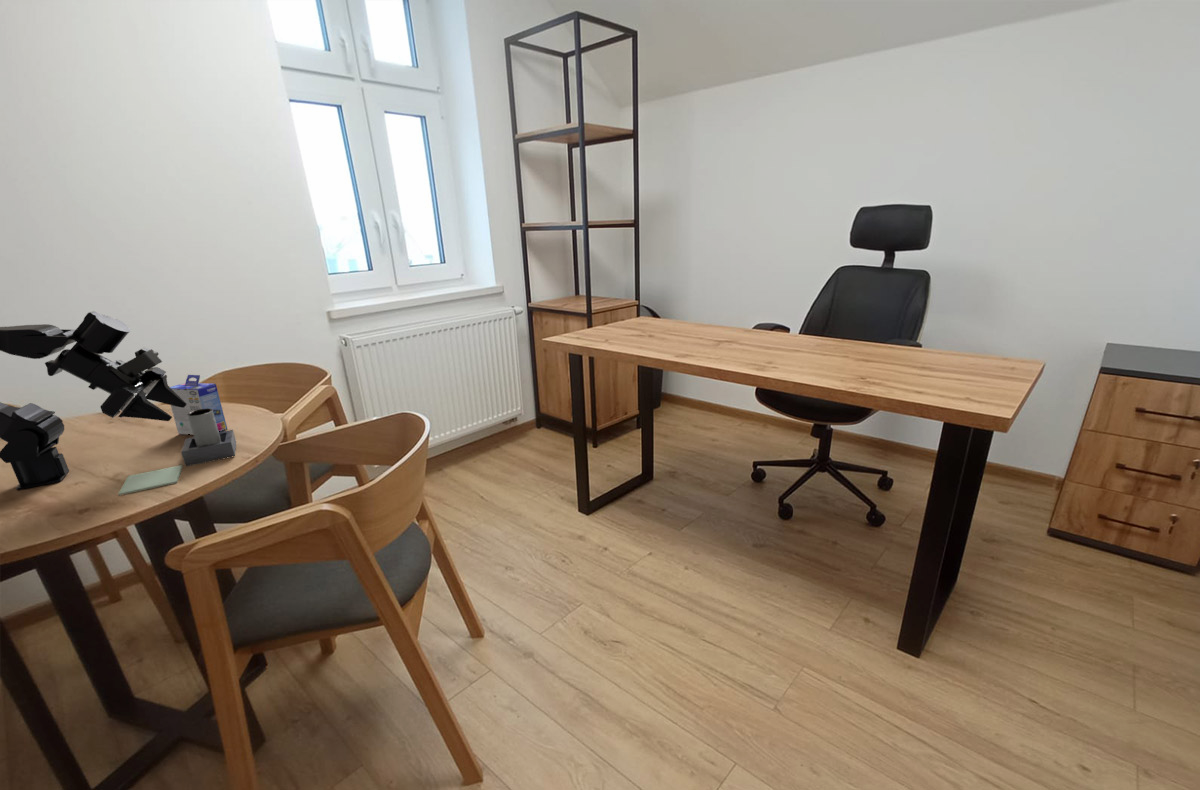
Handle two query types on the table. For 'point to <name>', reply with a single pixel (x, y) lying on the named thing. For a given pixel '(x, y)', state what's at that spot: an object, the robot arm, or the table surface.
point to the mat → (151, 479)
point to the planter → (204, 427)
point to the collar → (209, 449)
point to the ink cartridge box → (197, 403)
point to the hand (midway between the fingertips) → (178, 412)
